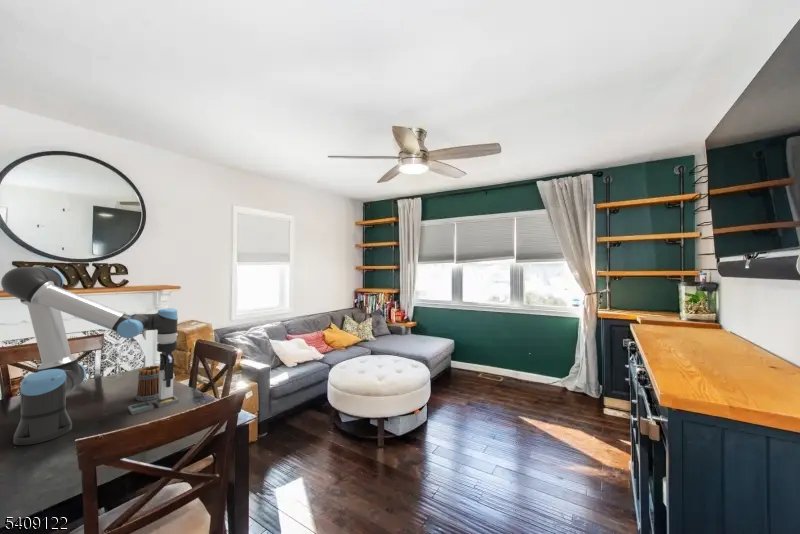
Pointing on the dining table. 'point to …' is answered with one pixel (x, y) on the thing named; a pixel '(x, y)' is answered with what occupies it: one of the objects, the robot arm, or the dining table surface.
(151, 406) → the panel
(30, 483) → the dining table surface
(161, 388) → the plug
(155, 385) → the mug
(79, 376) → the robot arm
